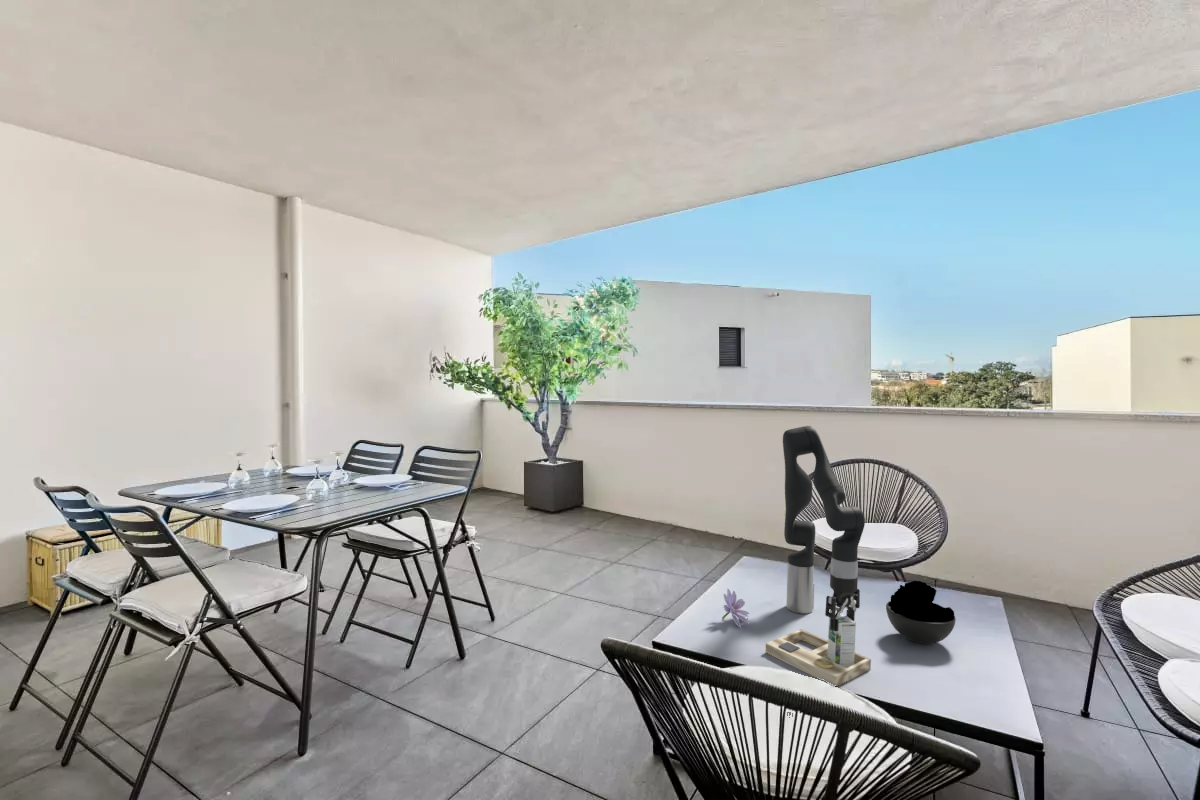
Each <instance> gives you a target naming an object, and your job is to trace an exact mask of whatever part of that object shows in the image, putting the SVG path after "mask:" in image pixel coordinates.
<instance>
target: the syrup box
mask: <svg viewBox="0 0 1200 800" xmlns="http://www.w3.org/2000/svg"><path fill="white" fill-rule="evenodd" d="M846 615H847V614H840V615H839V618H838V619H839V624H838V631H833V630H831V629H830V617H828V635H827V638H828V639H827V641H828V655H827V659H828V660H830V661H832V662H834V663H837V664H839V665H841V666H843V667H845V668H848V667H850V666H852V665H854V656H855V653H856V652H855V651H856V647H855V646H856V626H857V625H856V624H857V623H856V621H855V620H854V621H853V620H851V619H850V618H849V617H848V616H846Z"/></svg>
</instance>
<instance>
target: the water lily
mask: <svg viewBox="0 0 1200 800" xmlns="http://www.w3.org/2000/svg"><path fill="white" fill-rule="evenodd" d="M723 599H724V601H725V604H724V605H723V606H722V608H723V610H724V611H725V612H726V613H725V614H723V616H722V620H724V619H726V617H727V616H728V615H729V614H731V617H732V619H733V621H734V623H735V625H737V627H738V628H739V627H741V628H742V626H741V622H740V620H741V621H743V622H744V623H745V624H748V625H750V622H749V621H748V619H749V615H750V613H749V612H748V611H746V610H744V609H741V608H743V607H744V606H745V603H746V601H744V598H739V599H737V593H736V592H735V590H733V591H732V593H731V590H730V588H727V590H726V594H725V593H723ZM747 618H748V619H747Z"/></svg>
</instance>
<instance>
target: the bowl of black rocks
mask: <svg viewBox="0 0 1200 800" xmlns="http://www.w3.org/2000/svg"><path fill="white" fill-rule="evenodd" d="M936 594H937V589H936V588H934V587H933V586H931V585H930V584H929V585H928V584H927V583H926V582H925V581H921V580H913V581H909V582H905V583H904V585H902V584H899V588H897V590H896V591H895V592H894V593H893V594H890V595H891V596H890V601H888V602H887V603H886V605H885V610H886V614H887V618H888V620H889V622H890V624H891V625H892V627H893V628H894V629H895V631H897V632H898V634H900V635H901V636H902V637H904V638H906V639H907V640H909V641H911V642H914V643H917V644H924V645H925V644H926V645H929V644H936V643H939V642H941V641H943V640H945V639H946V638H947V637H948V636H949V635H950V634H951V633H952V631H953V629H954V627H955V626H956V620H957V619H956V616H955V611H954V610H953V608H951V607H950V606H947V607H944V606H942V605H940V604H938V603H935V602H934V601H935V597H936Z"/></svg>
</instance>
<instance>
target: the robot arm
mask: <svg viewBox="0 0 1200 800" xmlns="http://www.w3.org/2000/svg"><path fill="white" fill-rule="evenodd" d="M782 448H783V459H784V472H785V473H784V500H785V514H784V529H783V530H784V532H783V533H784V540H785V542H786V544H788V545H792V546H800V547H804V548H802V549H800V550H798V551H795V552H794V551H793V552H790V553H789V554H788V555H787V571H786V572H787V575H786V576H787V577H786V609H787V610H789V611H790V612H794V613H797V614H810V613H812V612H813V610H814V606H815V605H814V604H815V583H814V575H815V574H814V573H815V572H814V569H815V564H814V563H815V559H814V558H815V557H814V555H815V544H816V543H815V542H816V525H815V523H814V522H813V521H808V520H799V519H796V518H797V517H798V516H799V514H800V513H801V512H802V511H804V510H805V508H807V506H809V504H810V503H811V501H812V499H813V485H814V488H815V490H816V493H818V496H819V498H820V499H821V501H822V505H823V511H824V515H825V520H826V524H827V525H828V526H829V528H830V529H832V530H833V531H834V532H843V533H842V535H840V536H838V537H835V538H833V540H832V541H831V559H830V569H829V570H830V571H829V572H830V574H829V575H830V576H829V586H830V589H832V590H833V593H832V596H830V595H827V596H826V601H825V612H824V615H825V616H826V617H828V618H829V617H830V629H831V630H833V631H838V624H839V619H838V618H839V615H841V614H842V613H843V611H844V610H845V608H846V614H845V615H846V616H848V617H849V618H850V619H851V620H853V621H854V622H855V619H856V618H855V617H856V616H855V615H856V612H857V609H859V608H860V607H861V606H860V605H861V603H860V596H861V595H860V592H861V591H860V589H859V588H858V584H859V583H858V582H859V581H858V579H859V578H858V577H859V567H858V566H859V564H858V550H859V549H858V547H859V545H860V542H861V538H862V535H863V532H864V529H865V525H866V517H865V514H864V512H863V511H862V509H861V508H860V507H859V506H853V505H852V506H840V505H841V504H843V503H844V502H845V501H846V499H847V498H846V496H847V495H846V493H845V490H844V489H843V487H842V486H841V484H840V482H839V480H838V479H837V477H836V475H835V473H834V471H833V468H832V466H831V464H830V461H829V458H828V456H827V452H826V450H825V448H824V445H823V442H822V440H821V438H820V435H819V433H818V431H817V430H816V429H815V427H813V426H812V425H804V426H799V427H793V428H791V429H787V430H784V433H783V435H782ZM808 454H813V455H814V457H815V467H814V471H813V479H811V477H810V476H809V474H808V473H807V472H806V471H805V470H804V469H803V468H802V467H801V466H800V464H799V463H798V460H797V459H798V457H799V456H803V455H808ZM812 480H813V481H812Z"/></svg>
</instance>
